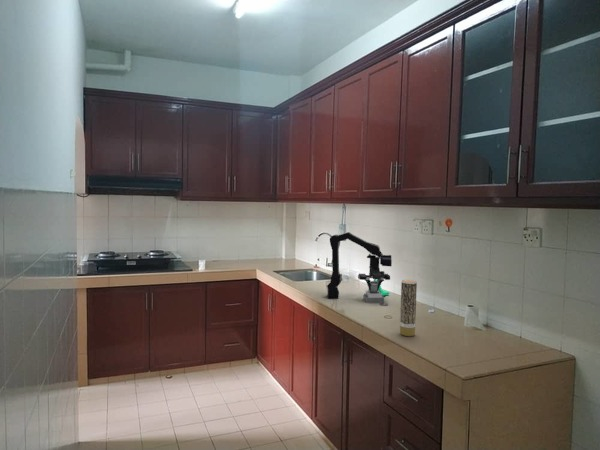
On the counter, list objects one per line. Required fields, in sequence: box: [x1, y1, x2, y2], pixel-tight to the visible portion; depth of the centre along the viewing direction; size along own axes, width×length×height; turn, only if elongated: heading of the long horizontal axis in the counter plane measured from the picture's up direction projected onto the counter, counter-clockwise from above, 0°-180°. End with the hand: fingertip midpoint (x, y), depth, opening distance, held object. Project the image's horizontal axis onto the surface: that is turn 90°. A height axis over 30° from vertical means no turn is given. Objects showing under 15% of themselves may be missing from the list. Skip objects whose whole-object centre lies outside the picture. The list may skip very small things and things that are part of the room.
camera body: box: [362, 290, 385, 304], centre depth 248 cm, size 11×8×6 cm
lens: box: [370, 280, 378, 293], centre depth 248 cm, size 5×5×7 cm
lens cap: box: [379, 302, 389, 307], centre depth 240 cm, size 5×5×1 cm
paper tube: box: [399, 279, 418, 337], centre depth 187 cm, size 7×7×25 cm
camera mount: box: [367, 279, 390, 297], centre depth 265 cm, size 12×8×10 cm, turn 36°
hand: (373, 290), depth 248 cm, fingers closed on lens, 4 cm apart
